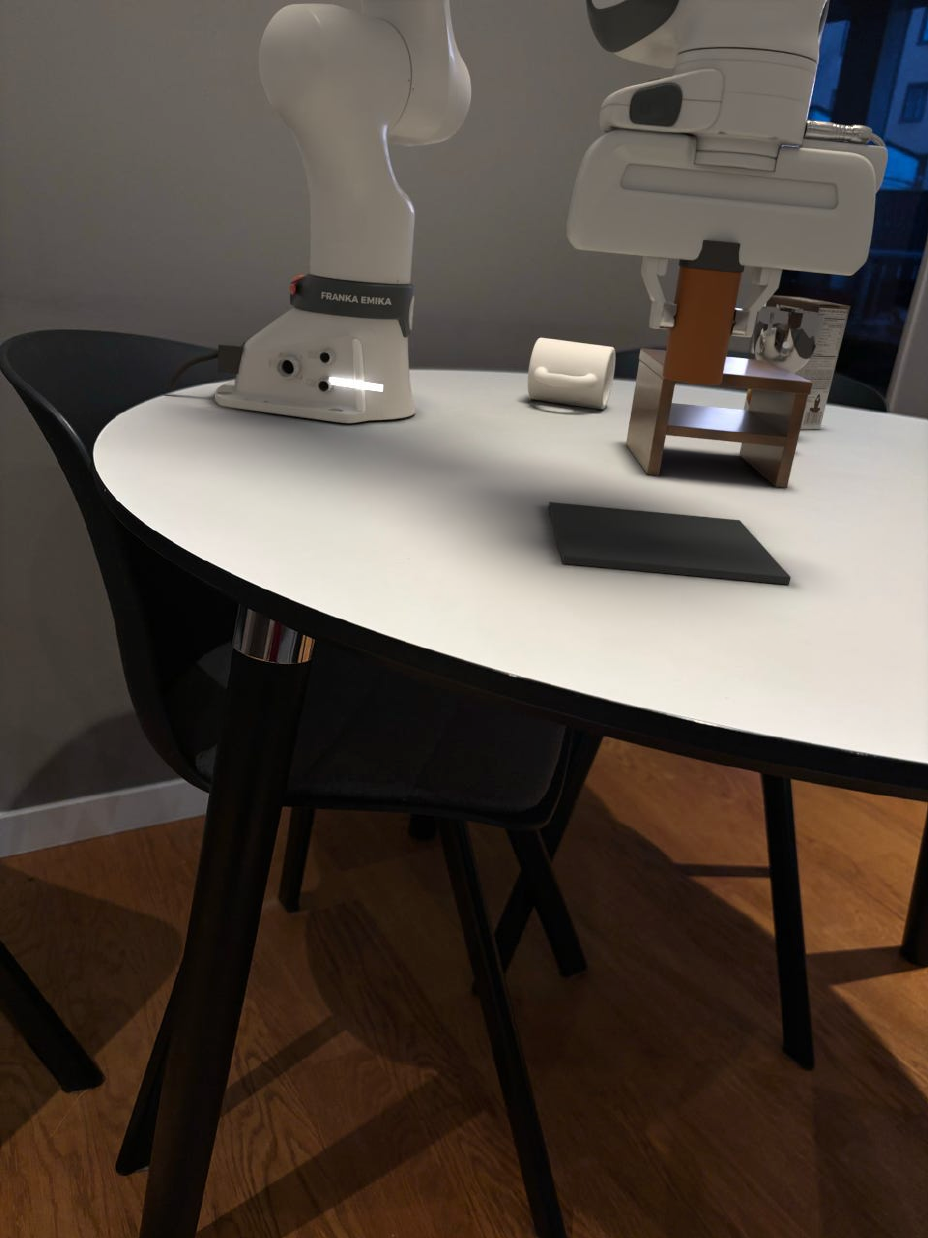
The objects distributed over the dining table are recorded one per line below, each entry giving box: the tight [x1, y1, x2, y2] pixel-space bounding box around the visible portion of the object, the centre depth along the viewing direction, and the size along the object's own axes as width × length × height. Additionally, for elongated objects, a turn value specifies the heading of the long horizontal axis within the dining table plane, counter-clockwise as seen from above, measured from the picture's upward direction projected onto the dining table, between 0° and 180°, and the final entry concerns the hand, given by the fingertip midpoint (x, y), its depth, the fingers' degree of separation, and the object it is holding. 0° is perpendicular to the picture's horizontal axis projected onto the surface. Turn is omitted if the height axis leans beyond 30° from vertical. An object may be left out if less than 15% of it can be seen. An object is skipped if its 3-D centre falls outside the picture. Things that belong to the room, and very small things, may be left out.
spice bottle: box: [662, 240, 745, 386], centre depth 68 cm, size 4×4×9 cm
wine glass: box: [752, 305, 825, 374], centre depth 121 cm, size 8×8×15 cm
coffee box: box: [743, 294, 851, 431], centre depth 130 cm, size 9×6×16 cm
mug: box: [527, 337, 616, 411], centre depth 127 cm, size 12×10×8 cm
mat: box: [547, 501, 792, 586], centre depth 75 cm, size 16×14×1 cm
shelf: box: [625, 347, 813, 489], centre depth 101 cm, size 14×15×10 cm
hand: (699, 332), depth 69 cm, fingers closed on spice bottle, 4 cm apart
